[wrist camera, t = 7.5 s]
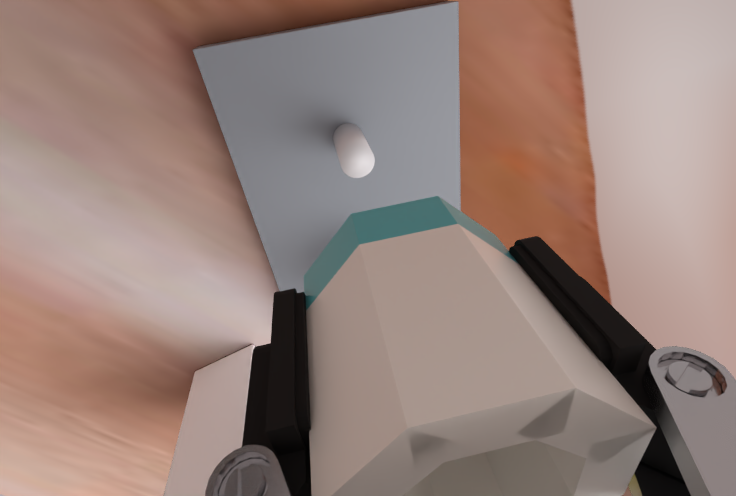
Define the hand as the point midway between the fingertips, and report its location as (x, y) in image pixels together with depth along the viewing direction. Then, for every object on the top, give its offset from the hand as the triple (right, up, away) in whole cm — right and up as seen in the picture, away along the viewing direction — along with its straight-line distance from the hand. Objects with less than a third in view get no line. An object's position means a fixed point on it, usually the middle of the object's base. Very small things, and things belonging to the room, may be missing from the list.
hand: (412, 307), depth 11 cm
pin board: (-2, +5, +17) cm, 18 cm away
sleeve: (0, +1, +1) cm, 1 cm away
